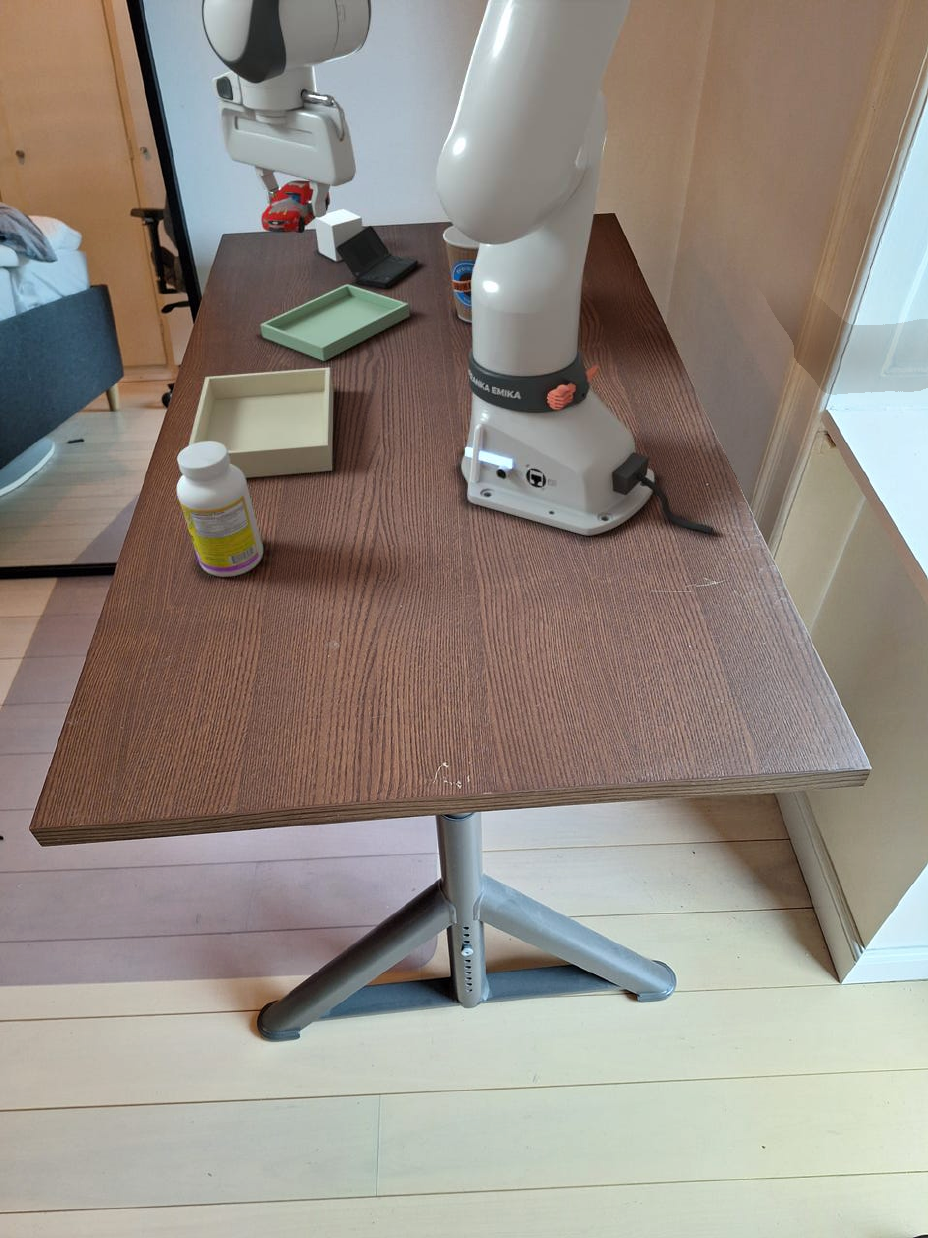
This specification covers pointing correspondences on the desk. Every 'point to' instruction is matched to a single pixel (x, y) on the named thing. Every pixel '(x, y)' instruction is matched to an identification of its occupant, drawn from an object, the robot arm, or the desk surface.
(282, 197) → the race car
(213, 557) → the supplement bottle
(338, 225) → the white cube
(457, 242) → the coffee cup
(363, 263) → the handheld gaming console
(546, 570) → the desk surface
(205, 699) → the desk surface
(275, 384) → the cream shallow box
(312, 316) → the tray
